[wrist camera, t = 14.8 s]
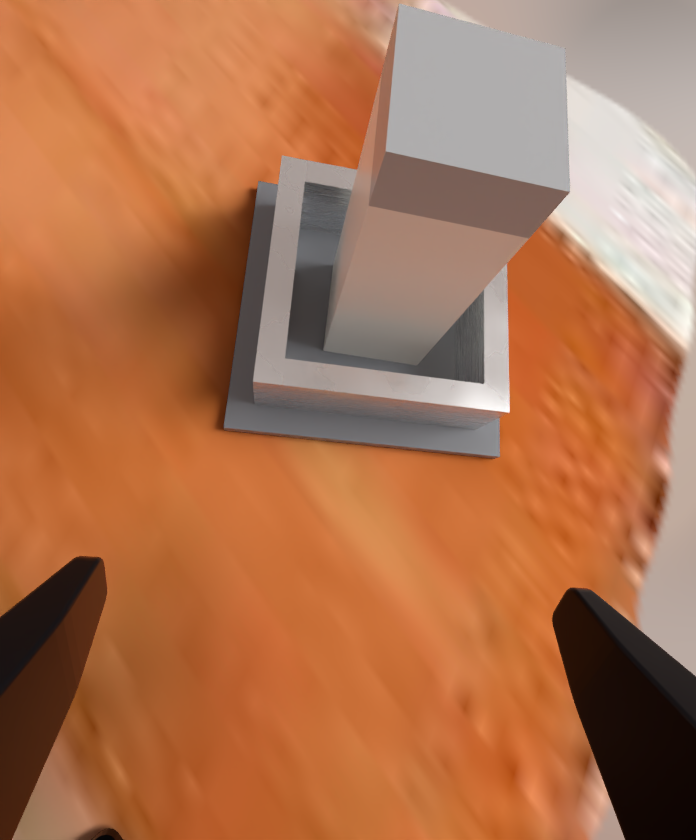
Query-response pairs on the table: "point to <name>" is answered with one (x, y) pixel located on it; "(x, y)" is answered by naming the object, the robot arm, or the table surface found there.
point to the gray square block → (445, 181)
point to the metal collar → (357, 387)
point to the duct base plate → (329, 356)
